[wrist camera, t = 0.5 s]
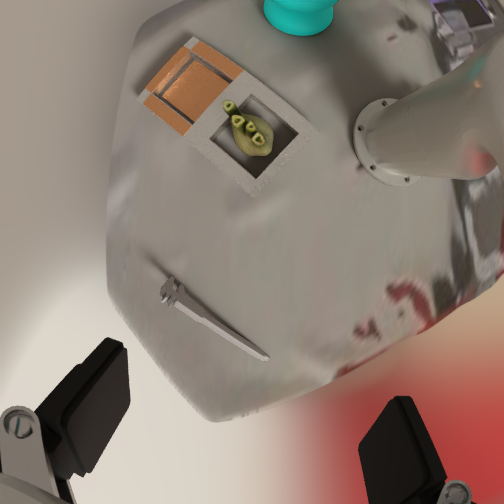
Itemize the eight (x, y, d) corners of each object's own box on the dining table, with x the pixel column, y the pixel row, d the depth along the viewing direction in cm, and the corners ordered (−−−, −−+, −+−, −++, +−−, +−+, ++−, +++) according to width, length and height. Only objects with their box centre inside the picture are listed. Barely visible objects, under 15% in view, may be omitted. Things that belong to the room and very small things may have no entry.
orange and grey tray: (197, 42, 33) (192, 35, 30) (315, 133, 35) (318, 130, 33) (143, 102, 36) (135, 99, 33) (255, 197, 38) (254, 199, 36)
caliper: (169, 279, 43) (153, 295, 37) (173, 274, 42) (157, 290, 36) (266, 359, 45) (264, 383, 39) (270, 355, 45) (269, 380, 39)
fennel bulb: (232, 122, 36) (213, 100, 24) (268, 113, 35) (264, 88, 23) (241, 162, 37) (226, 157, 26) (278, 154, 36) (278, 145, 25)
